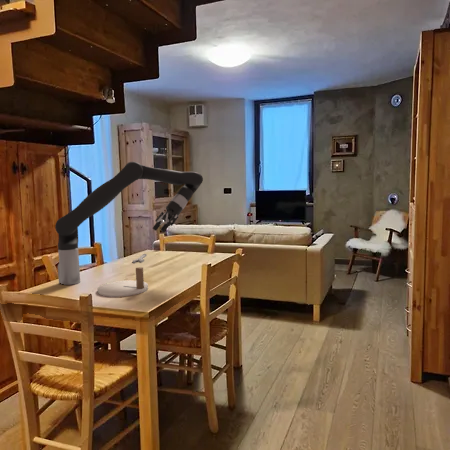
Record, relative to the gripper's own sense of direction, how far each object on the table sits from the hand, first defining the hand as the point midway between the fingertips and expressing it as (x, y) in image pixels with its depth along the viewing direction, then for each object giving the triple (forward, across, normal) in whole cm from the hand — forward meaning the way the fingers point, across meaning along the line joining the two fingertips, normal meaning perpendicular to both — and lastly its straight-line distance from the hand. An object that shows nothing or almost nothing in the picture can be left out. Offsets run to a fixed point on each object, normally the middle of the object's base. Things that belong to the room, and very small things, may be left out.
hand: (158, 230), depth 202 cm
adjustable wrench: (+5, -58, +32) cm, 66 cm away
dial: (+33, +7, 0) cm, 34 cm away
